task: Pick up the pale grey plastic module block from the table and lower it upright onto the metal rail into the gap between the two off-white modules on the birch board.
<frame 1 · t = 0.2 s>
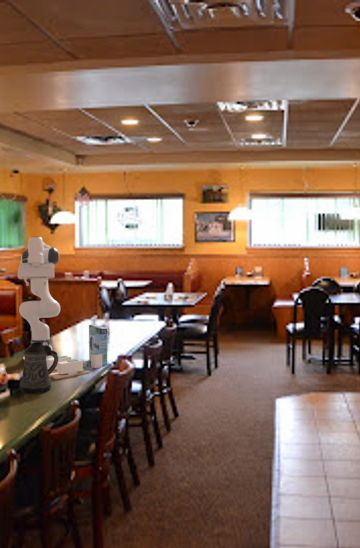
hand: (36, 285, 349), 54 cm above the table, tool tilted 30°, fingers open, 8 cm apart
loose relay: (81, 367, 389), on the table
module block: (96, 366, 388), on the table
beer stein: (38, 389, 336), on the table
blue cardboard box: (98, 362, 402), on the table
rail board: (64, 373, 373), on the table
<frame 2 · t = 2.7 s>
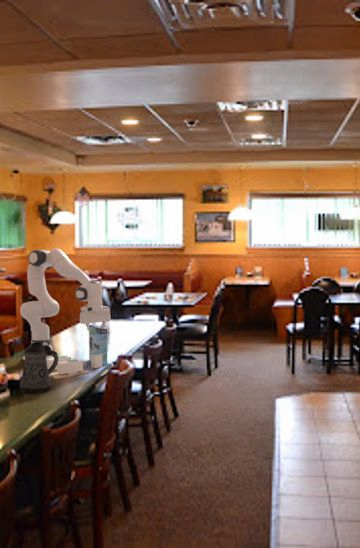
hand: (95, 329, 386), 23 cm above the table, tool pointing down, fingers open, 8 cm apart
nothing on the table moved.
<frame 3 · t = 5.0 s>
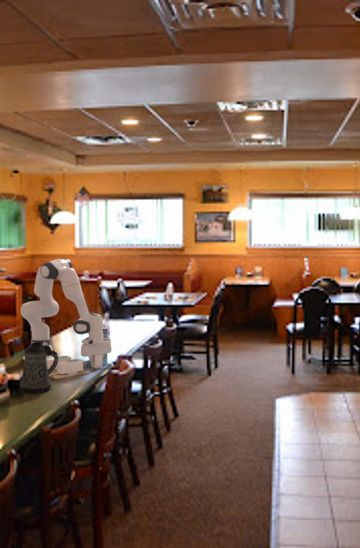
hand: (96, 361, 388), 3 cm above the table, tool pointing down, fingers closed on module block, 5 cm apart
module block: (96, 366, 388), on the table, touching gripper
everything else where it was.
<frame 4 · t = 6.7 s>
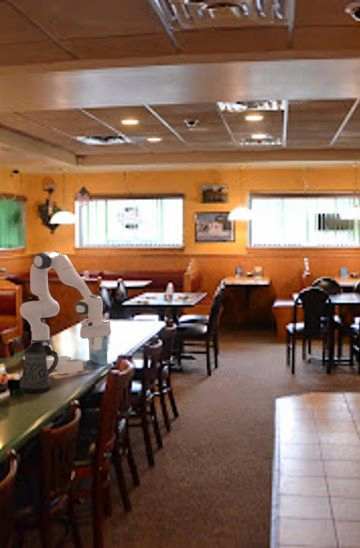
hand: (95, 344, 387), 14 cm above the table, tool pointing down, fingers closed on module block, 5 cm apart
module block: (95, 349, 388), point 11 cm above the table, touching gripper
everything else where it was.
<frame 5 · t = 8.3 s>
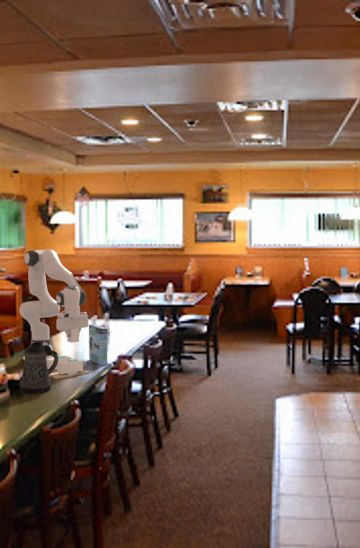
hand: (73, 336, 376), 21 cm above the table, tool pointing down, fingers closed on module block, 5 cm apart
module block: (73, 341, 376), point 18 cm above the table, touching gripper
everything else where it was.
when the fingers open (7 cm above the table, at t = 11.6 s): module block drops 1 cm, resting on rail board.
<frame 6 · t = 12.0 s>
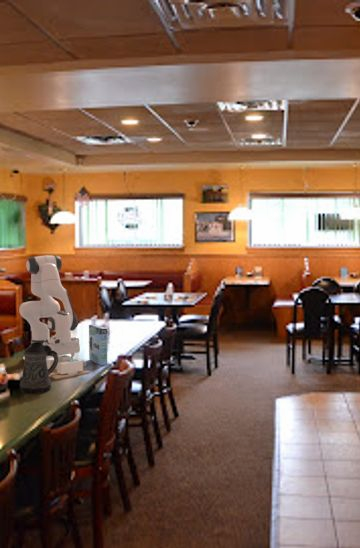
hand: (64, 362, 372), 7 cm above the table, tool pointing down, fingers open, 8 cm apart
module block: (64, 369, 373), point 2 cm above the table, touching rail board
everything else where it was.
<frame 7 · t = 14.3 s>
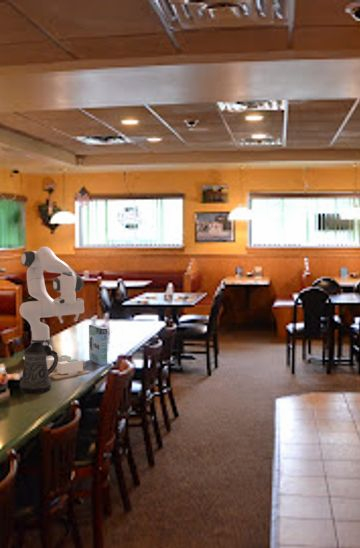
hand: (68, 322, 377), 29 cm above the table, tool pointing down, fingers open, 8 cm apart
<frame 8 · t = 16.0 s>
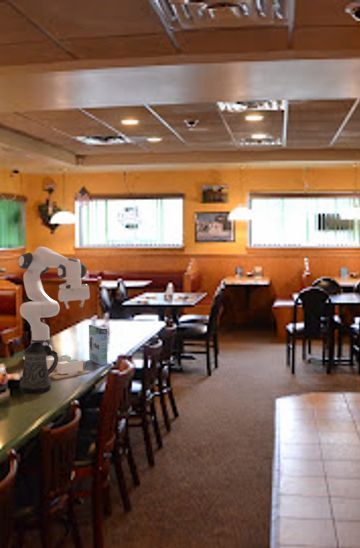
hand: (74, 307, 383), 37 cm above the table, tool pointing down, fingers open, 8 cm apart
nothing on the table moved.
at the end: module block 0.0 cm off-centre on the rail board, point 2.0 cm above the rail board's base; module block tilted 0°; the gripper is holding nothing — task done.
